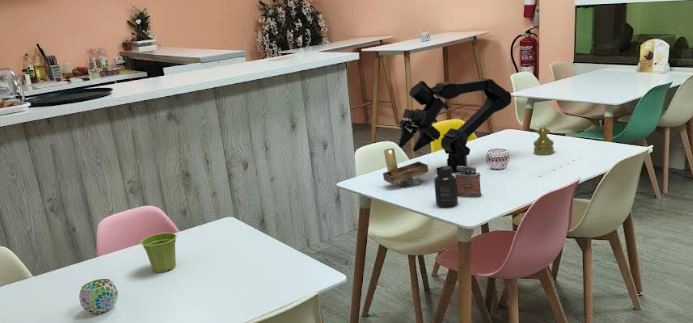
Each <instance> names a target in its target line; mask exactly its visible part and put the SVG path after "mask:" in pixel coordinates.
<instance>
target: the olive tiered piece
mask: <svg viewBox="0 0 693 323" xmlns="http://www.w3.org/2000/svg"><path fill="white" fill-rule="evenodd" d="M535 132H536V133H537V134H538V135H539V136H538V138H536V140H534V141H533V146H534V147H533V153H534V155H537V156H549V155H552V154H554V153H555V151H554V141H553V140H552V139H550V137H549V136H548V134H549V133H551V130H550V129H549V128H546V127H540V128H538V129H536V131H535Z"/></svg>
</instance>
